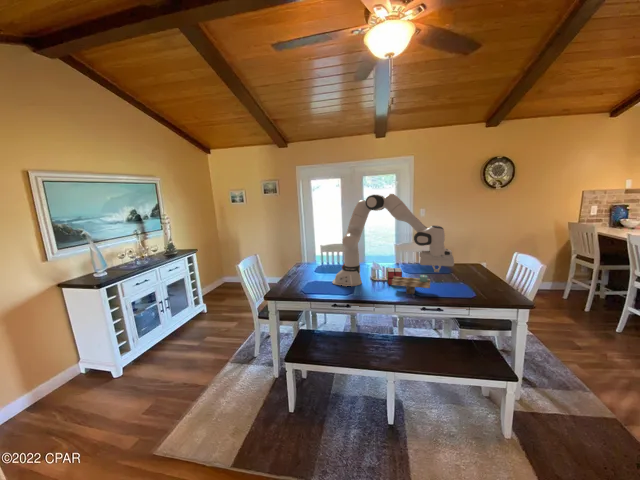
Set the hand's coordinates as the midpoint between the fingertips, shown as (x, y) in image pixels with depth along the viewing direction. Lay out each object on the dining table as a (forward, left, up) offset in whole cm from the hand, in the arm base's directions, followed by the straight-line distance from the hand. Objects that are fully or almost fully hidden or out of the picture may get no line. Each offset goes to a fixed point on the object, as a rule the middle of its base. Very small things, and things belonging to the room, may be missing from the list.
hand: (436, 272), depth 176 cm
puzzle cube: (-29, +16, -15) cm, 36 cm away
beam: (-16, 0, -15) cm, 22 cm away
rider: (-8, 0, -8) cm, 11 cm away
